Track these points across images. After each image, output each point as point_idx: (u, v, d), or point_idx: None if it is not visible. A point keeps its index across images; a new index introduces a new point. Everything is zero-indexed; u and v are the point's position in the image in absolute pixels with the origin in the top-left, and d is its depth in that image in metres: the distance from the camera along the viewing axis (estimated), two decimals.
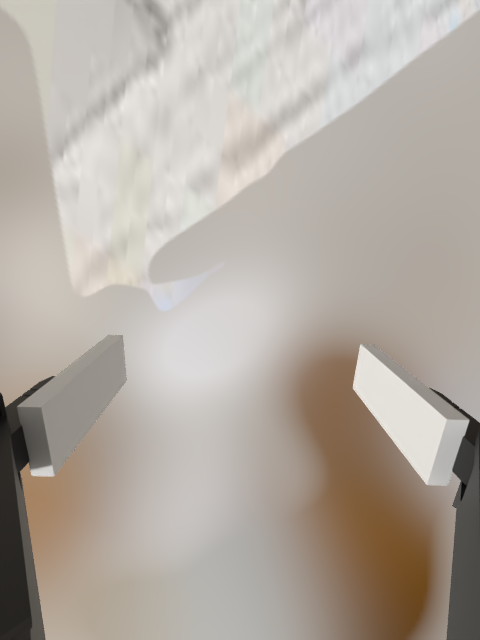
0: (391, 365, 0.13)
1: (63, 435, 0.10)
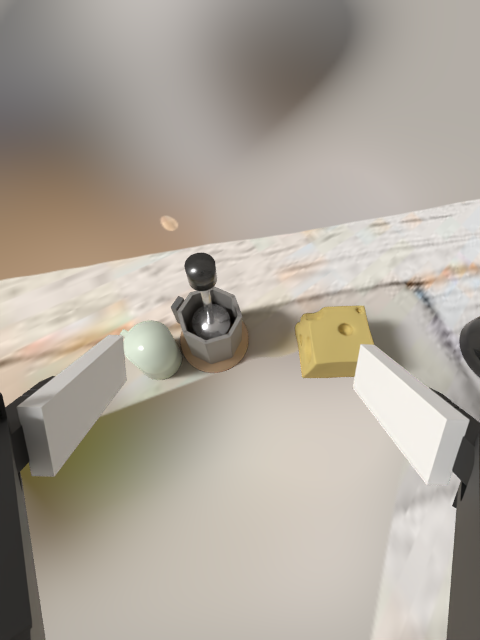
0: (391, 365, 0.13)
1: (63, 435, 0.10)
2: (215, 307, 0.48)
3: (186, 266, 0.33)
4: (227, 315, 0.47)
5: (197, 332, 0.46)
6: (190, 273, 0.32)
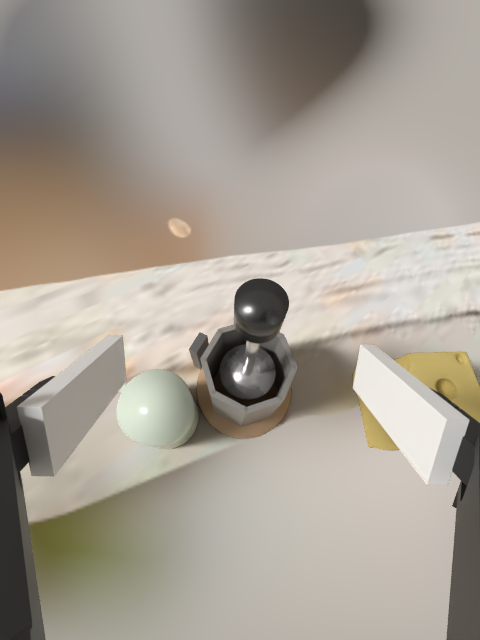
0: (391, 365, 0.13)
1: (63, 435, 0.10)
2: None
3: (238, 303, 0.18)
4: (271, 362, 0.32)
5: (228, 388, 0.31)
6: (246, 317, 0.18)
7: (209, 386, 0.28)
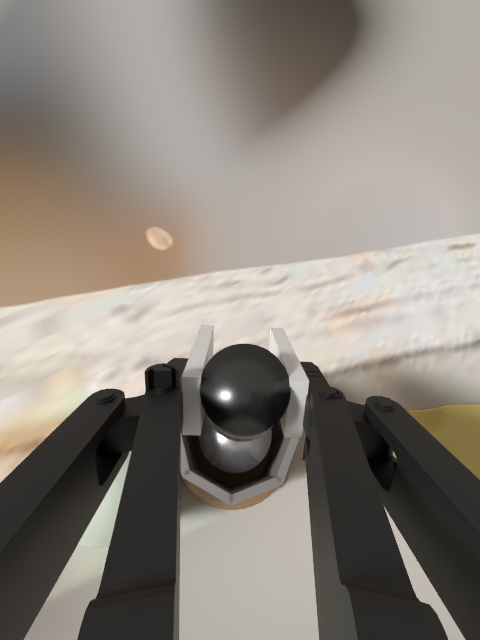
0: (282, 343, 0.15)
1: None
2: None
3: (205, 392, 0.11)
4: None
5: (209, 458, 0.23)
6: (218, 419, 0.10)
7: (181, 464, 0.21)
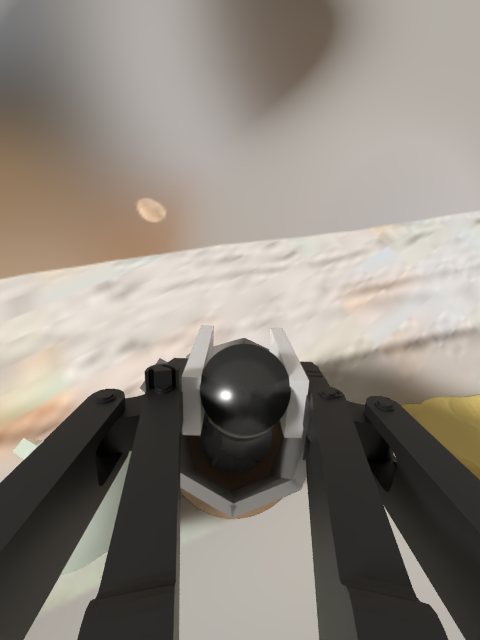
0: (282, 343, 0.15)
1: None
2: None
3: (205, 392, 0.11)
4: None
5: (209, 458, 0.23)
6: (218, 419, 0.10)
7: None
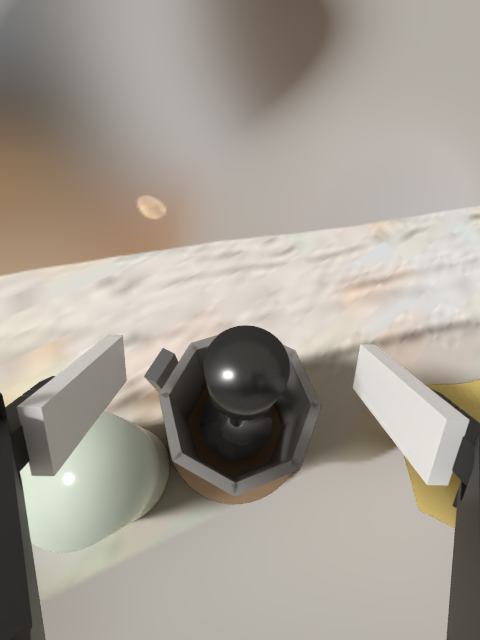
0: (391, 365, 0.13)
1: (63, 435, 0.10)
2: None
3: (209, 370, 0.11)
4: None
5: (211, 445, 0.24)
6: (222, 394, 0.11)
7: (171, 445, 0.16)
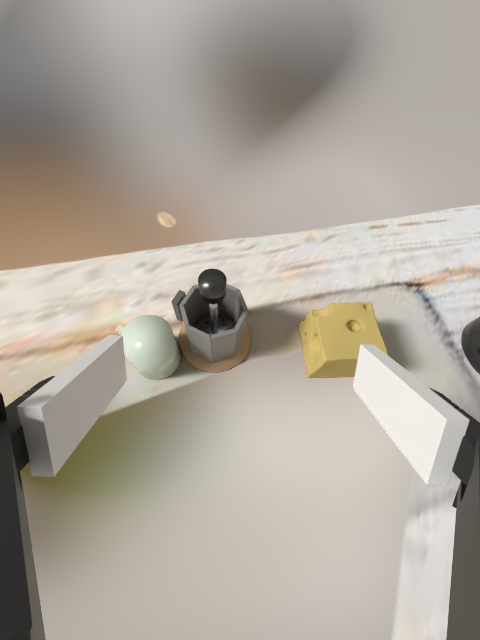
0: (391, 365, 0.13)
1: (63, 435, 0.10)
2: (219, 319, 0.50)
3: (199, 281, 0.35)
4: (230, 326, 0.50)
5: None
6: (203, 287, 0.35)
7: (185, 322, 0.40)
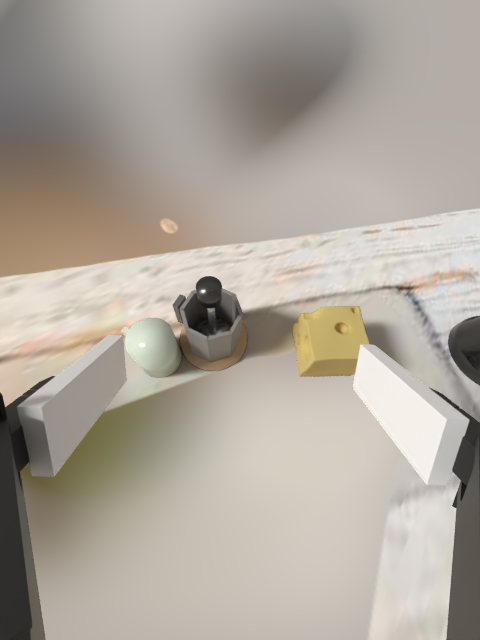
0: (391, 365, 0.13)
1: (63, 435, 0.10)
2: (217, 321, 0.54)
3: (197, 287, 0.39)
4: (228, 328, 0.53)
5: None
6: (201, 294, 0.38)
7: (184, 325, 0.44)
